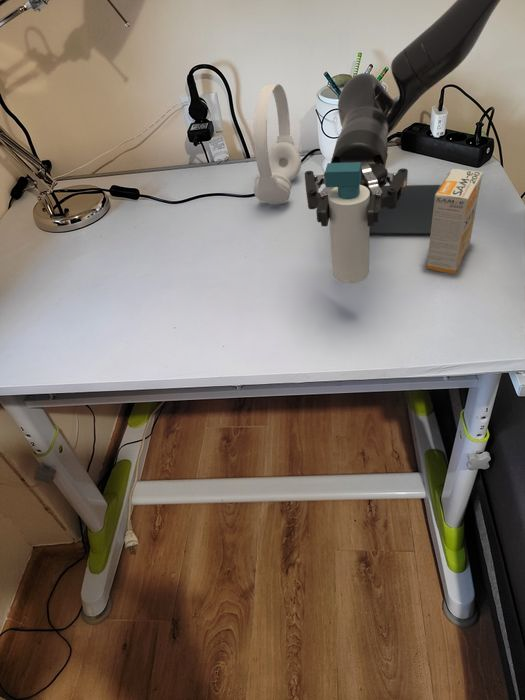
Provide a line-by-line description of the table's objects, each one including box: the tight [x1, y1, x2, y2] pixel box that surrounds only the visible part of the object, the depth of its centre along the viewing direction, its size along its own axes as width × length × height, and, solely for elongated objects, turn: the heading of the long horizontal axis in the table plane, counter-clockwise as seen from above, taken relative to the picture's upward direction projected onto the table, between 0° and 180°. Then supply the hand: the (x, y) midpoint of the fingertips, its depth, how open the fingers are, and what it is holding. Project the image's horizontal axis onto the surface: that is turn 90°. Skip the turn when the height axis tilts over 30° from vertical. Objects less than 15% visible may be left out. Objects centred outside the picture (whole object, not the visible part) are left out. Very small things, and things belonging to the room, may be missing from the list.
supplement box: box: [426, 168, 484, 275], centre depth 77 cm, size 8×5×13 cm, turn 150°
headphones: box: [253, 83, 302, 205], centre depth 96 cm, size 7×18×20 cm, turn 166°
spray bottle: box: [324, 162, 370, 285], centre depth 65 cm, size 5×5×16 cm
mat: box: [369, 184, 442, 237], centre depth 92 cm, size 16×16×1 cm
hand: (347, 219), depth 62 cm, fingers closed on spray bottle, 5 cm apart
